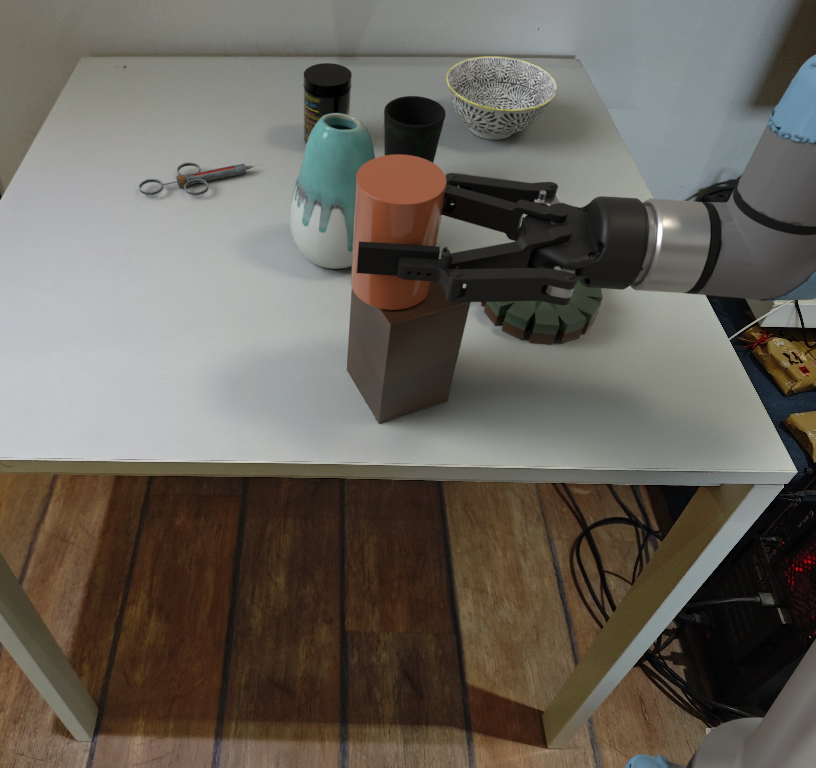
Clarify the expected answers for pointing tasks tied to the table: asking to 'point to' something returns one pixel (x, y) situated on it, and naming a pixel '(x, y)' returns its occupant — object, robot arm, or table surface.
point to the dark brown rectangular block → (405, 353)
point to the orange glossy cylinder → (396, 222)
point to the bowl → (499, 94)
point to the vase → (329, 190)
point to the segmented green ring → (547, 316)
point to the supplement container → (325, 93)
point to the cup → (413, 127)
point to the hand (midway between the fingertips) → (360, 227)
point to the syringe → (198, 177)
